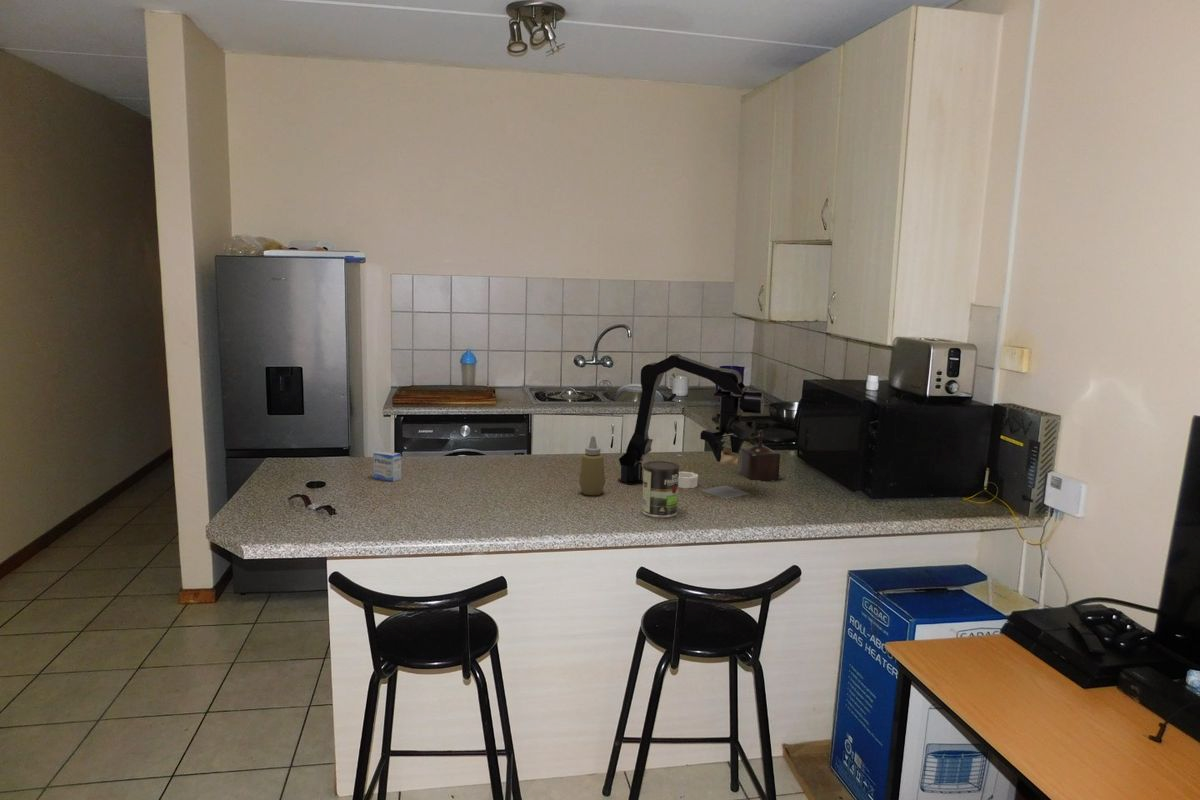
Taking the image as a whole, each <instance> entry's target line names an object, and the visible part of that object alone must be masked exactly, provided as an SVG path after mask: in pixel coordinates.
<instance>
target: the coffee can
mask: <svg viewBox="0 0 1200 800" xmlns="http://www.w3.org/2000/svg"><path fill="white" fill-rule="evenodd" d="M642 465H643V466H642V468H643V474H642V480H643V482H642V504H641V505H642V507H641V508H642V510H641V513H642V514H643V515H646V516H648V517H651V518H658V519H659V518H661V519H662V518H663V519H664V518H673V517H676V515H677V514H678V499H679V487H678V479H679V472H680V465H679V464H678V463H676V462H672V461H665V460H655V461H654V460H651V461H647V462H644V463H642Z"/></svg>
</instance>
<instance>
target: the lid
mask: <svg viewBox="0 0 1200 800" xmlns="http://www.w3.org/2000/svg"><path fill="white" fill-rule="evenodd" d="M738 459H739V453H738V454H737V453H734V452H732V450H731V447H723V451H721V459H720V462H717V461H716V460H715V464H717V465H720V466H731V467H732V466H737V465H738V463H739V462H738V461H739V460H738Z"/></svg>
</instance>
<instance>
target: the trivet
mask: <svg viewBox="0 0 1200 800" xmlns="http://www.w3.org/2000/svg"><path fill="white" fill-rule="evenodd" d="M699 491H701V492H702V493H706V494H709V495H711V496H715V497H718V498H721V499H723V500H727V499H732V498H737V497H740V496H745V495H751V492H747V491H743V490H741V489H737V488H734V487H732V486H728V485H720V486H716V487H715V486H714V487H710V488H706V489H705V488H704V489H700V490H699Z"/></svg>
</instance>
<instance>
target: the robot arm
mask: <svg viewBox="0 0 1200 800" xmlns="http://www.w3.org/2000/svg"><path fill="white" fill-rule="evenodd" d="M673 369H678V370H681V371H684V372H687V373H689V374H692V375H696V376H698V377H701V378H703V379H706V380H709V381H711V382H712V383H713V384H714V385H716V386H717V387H719V388H718V389H717V390H716V392H715V393H713V396H715V397H720V398H719V399H720V401H719V412H717V413H716V417H717V418H718V419H719V420H718V425H716V426H715V429H711V428H710V429H703V430H702V431H701V432H700V440H702V441H705V442H708V445H709V447H710V449H711V450H712V453H713V456H714V458H715V462H716V461H717V462H720V459H721V452H722V450H723V449H722V448H723V445H725V443H726V441H723V439H724V438H725V437H729V440H730V448H731V452H734V453H737V454H738V455H739V454H740V448H742V446H743V444H744V443H745V442H746V440H747V439H749V438H750V437H755V433H756V428H757V427H756V422H755V421H754V420H749V421H743V420H742V415H741V414H739V409H740V410H741V411H742V412H743V413H748V414H757V415H762V414H764V409H765V400H764V391H762V390H761V391H760V390H758V391H754V390H753V391H752V390H748V388H747V387H746V386H745V383H743V381H742V375H741V373H740V372H739V371H738V370H737V369H736V370H735V369H732V368H731V369H730V368H724V367H716V366H713V365H709V364H706V363H704V362H700V361H698V360H695V359H691V358H689V357H685V356H683V355H681V354H679V353H674V354H671V355H669V356H668V357H667V358H665V359H663V360H661V361H659V362H651V363H648V364H645V365H644V366H643V367H642V368H641V370H640V386H641V387H640V388H641V394H640V400H639V404H638V405H639V406H638V411H637V417H636V422H635V427H634V432H633V434H632V436H631V438H630V440H629V441H628V442H629V443H628V444H627V448H626V451H625V453H624V454H623V455H622V456H621V457H619V458H618V460H619V461H618V462H619V464H620V478H617V481H618V480H619V482H622V483H624V484H627V485H635V484H641V483H643V466H642V465H643V463H642V462H643V461H644V458H645V457H647V455H648V454H650V453H649V452H651V451H652V444H653V440H654V439H653V438H649V431H650V425H651V423H650V422H651V419H652V413H653V408H654V403H655V402H654V401H655V397H656V392H657V391H658V388H659V386H660V384H661V383H662V379H663V377H664V374H665V373H667V372H669V371H671V370H673Z"/></svg>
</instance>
